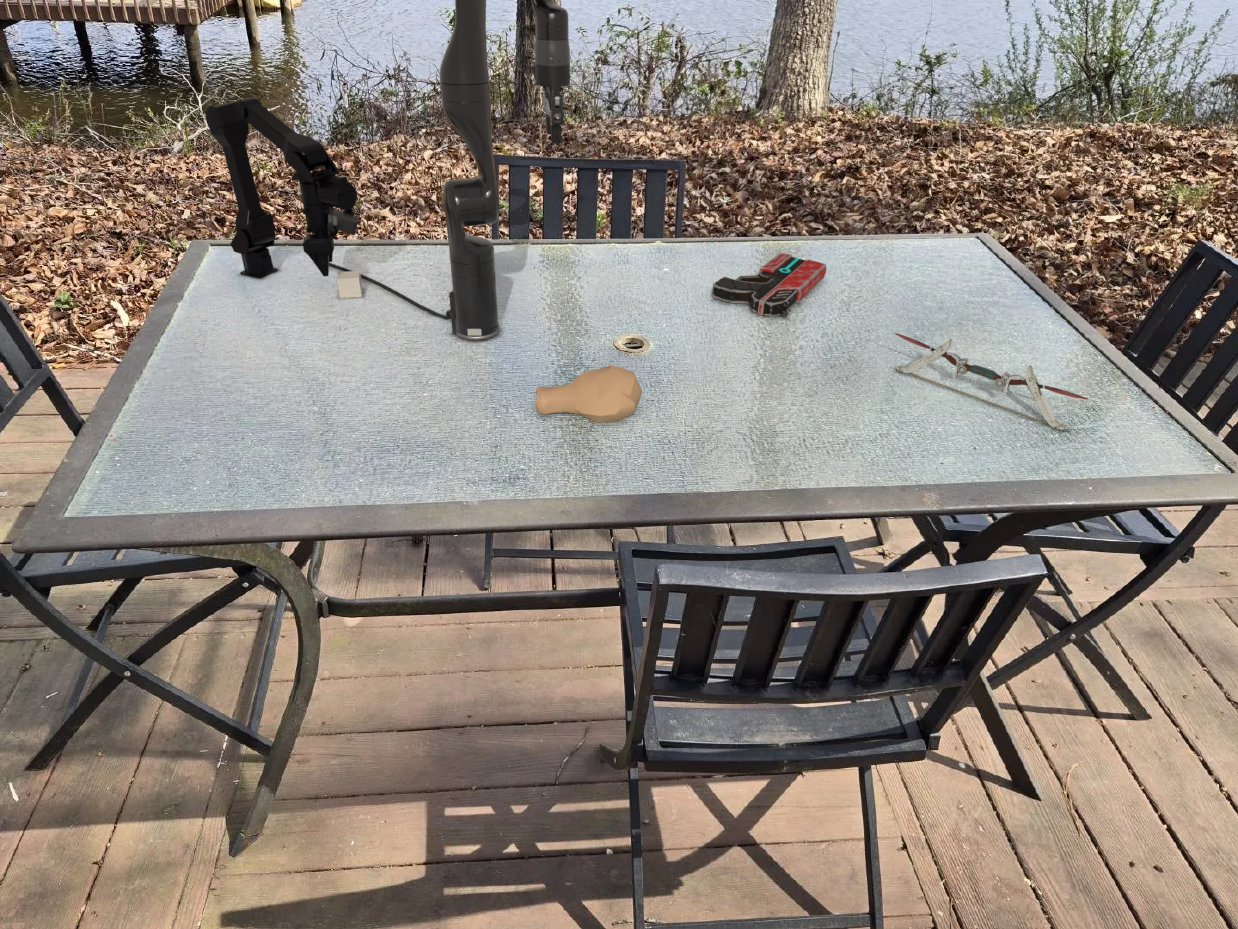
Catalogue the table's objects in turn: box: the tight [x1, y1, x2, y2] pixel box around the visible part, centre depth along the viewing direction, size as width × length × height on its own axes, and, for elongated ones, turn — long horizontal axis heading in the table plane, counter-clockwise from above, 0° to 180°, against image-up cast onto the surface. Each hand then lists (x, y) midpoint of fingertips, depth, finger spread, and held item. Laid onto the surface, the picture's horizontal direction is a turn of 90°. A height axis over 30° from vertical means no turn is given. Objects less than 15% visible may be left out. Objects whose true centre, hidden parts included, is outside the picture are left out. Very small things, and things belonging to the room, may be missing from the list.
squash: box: [534, 364, 643, 424], centre depth 162 cm, size 11×20×9 cm, turn 90°
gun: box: [711, 252, 827, 318], centre depth 215 cm, size 4×31×19 cm
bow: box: [894, 332, 1090, 431], centre depth 170 cm, size 39×2×10 cm, turn 47°
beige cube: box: [336, 270, 364, 299], centre depth 207 cm, size 5×5×5 cm
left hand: (328, 268), depth 204 cm, fingers open, 9 cm apart
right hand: (553, 138), depth 199 cm, fingers open, 8 cm apart
